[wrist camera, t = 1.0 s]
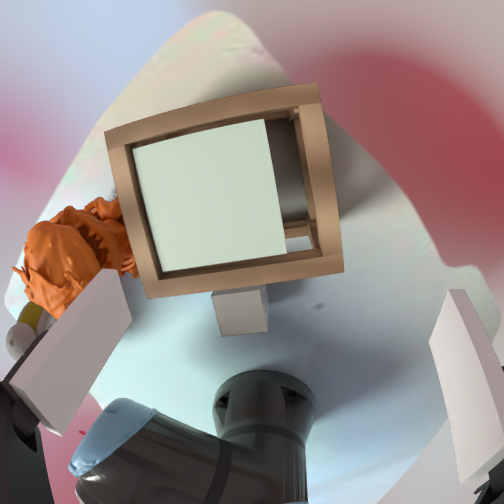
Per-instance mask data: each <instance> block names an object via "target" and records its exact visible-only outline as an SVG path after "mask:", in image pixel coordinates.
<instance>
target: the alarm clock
mask: <svg viewBox="0 0 504 504" xmlns="http://www.w3.org/2000/svg"><path fill="white" fill-rule="evenodd" d="M56 321H57V319H56V318H54V317H53V316H52V315H51V314H50V313H49V312H48V311H47V310H46V309H45V308H43V307H42V306H39V305H37V304H36V303H34V302H33V301H30V302H28V303H27V304H26V305H25V307H24V308H23V310H22V311H21V313H20V315H19V317H18V320H17V324H16V325H14V326H13V327H11V329H10V330H9V332H8V334H7V337H6V346H7V349H8V352H9V354H10V355H11V356H12V357H13V358H14V359H15V360H16V361H18V360H19V358H20V357H21V356H22V355H24V352H25V351H26V350H27V348H29V347H30V345H31V343H32V342H33V341H34V340H35V338H36V337H37V336H38V335H40V334H41V333H42V332H44V331H45V330H47V329H49V330H50V328H51V327H52V326H53V325H54V324H55V322H56Z"/></svg>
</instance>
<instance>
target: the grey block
mask: <svg viewBox="0 0 504 504" xmlns="http://www.w3.org/2000/svg"><path fill="white" fill-rule="evenodd" d="M211 298H212V302H213V305H214V309H215V313H216V317H217V320H218V324H219V328H220V331H221V335H222V337H223V336H233V335H243V334H252V333H260V332H268V318H269V301H268V296H267V290H266V285H265V284H262V285H255V286H248V287H240V288H233V289H225V290H218V291H213V293H212V295H211Z"/></svg>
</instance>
